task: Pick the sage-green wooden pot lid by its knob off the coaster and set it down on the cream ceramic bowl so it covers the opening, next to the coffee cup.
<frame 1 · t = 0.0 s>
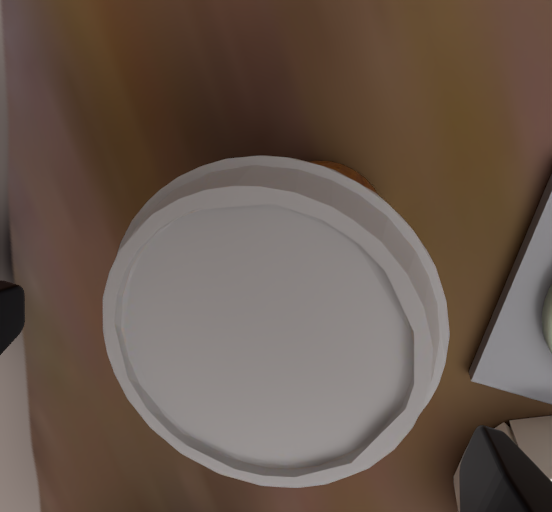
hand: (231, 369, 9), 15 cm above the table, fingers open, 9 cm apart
disposable coffee cup: (320, 224, 23), on the table
bowl: (547, 489, 25), on the table
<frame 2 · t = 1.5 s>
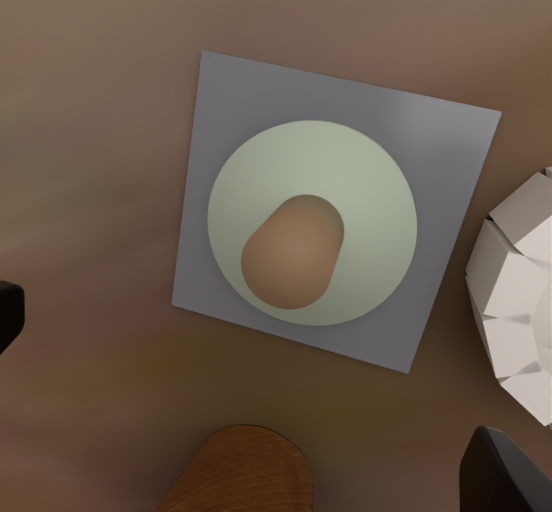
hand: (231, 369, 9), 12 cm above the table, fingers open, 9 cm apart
disposable coffee cup: (256, 470, 25), on the table
coaster: (314, 217, 20), on the table
lid: (311, 222, 19), point 1 cm above the table, touching coaster
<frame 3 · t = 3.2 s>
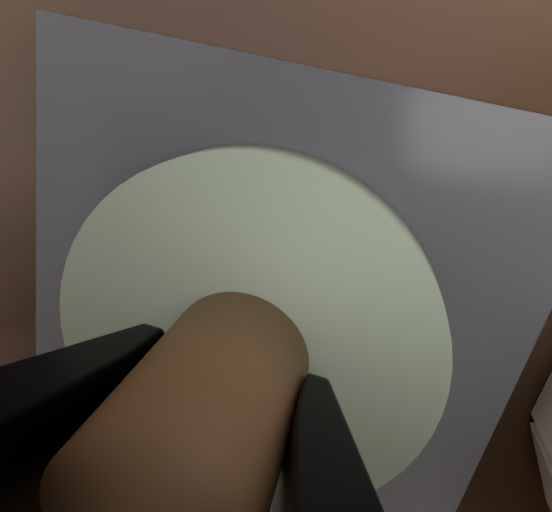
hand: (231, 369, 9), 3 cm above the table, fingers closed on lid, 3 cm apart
coaster: (263, 311, 11), on the table
lid: (255, 327, 10), point 1 cm above the table, touching coaster, gripper
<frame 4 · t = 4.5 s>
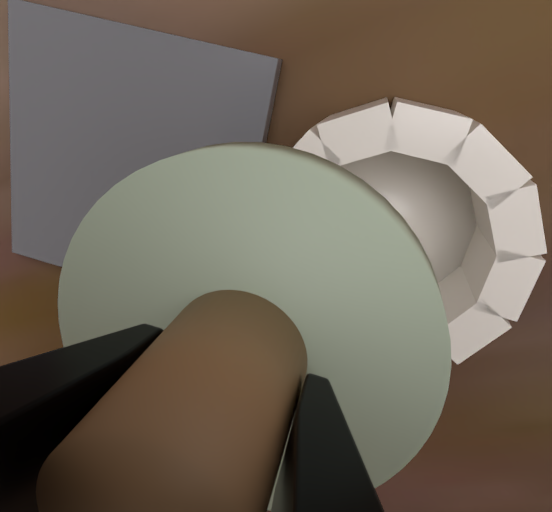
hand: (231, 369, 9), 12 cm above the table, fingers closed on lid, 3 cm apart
coaster: (135, 165, 20), on the table
bowl: (386, 219, 19), on the table
lid: (253, 326, 10), point 10 cm above the table, touching gripper
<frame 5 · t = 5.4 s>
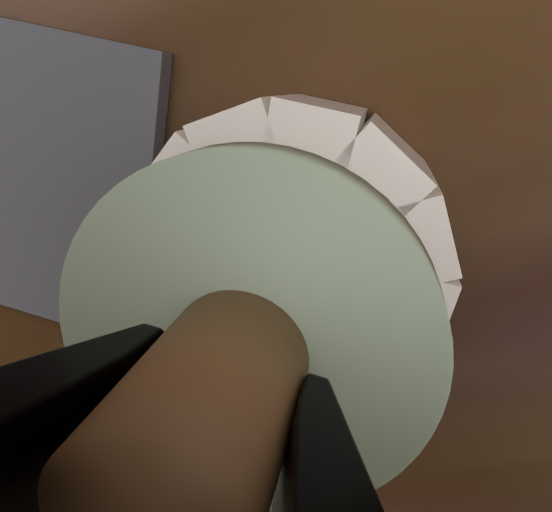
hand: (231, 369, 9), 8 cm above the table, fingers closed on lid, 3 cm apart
coaster: (26, 177, 18), on the table
bowl: (302, 235, 16), on the table
lid: (255, 326, 10), point 7 cm above the table, touching gripper
when the fingers open (7 cm above the table, at t = 5.9 s): lid drops 1 cm, resting on bowl.
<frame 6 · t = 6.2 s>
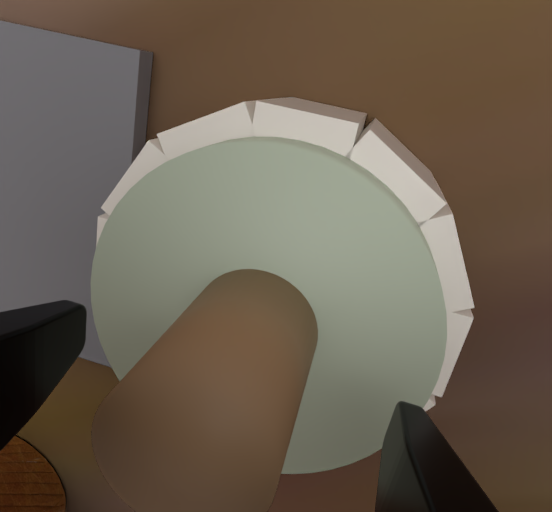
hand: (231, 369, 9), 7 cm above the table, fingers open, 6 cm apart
disposable coffee cup: (10, 477, 22), on the table
bowl: (296, 252, 15), on the table
lid: (267, 305, 11), point 4 cm above the table, touching bowl
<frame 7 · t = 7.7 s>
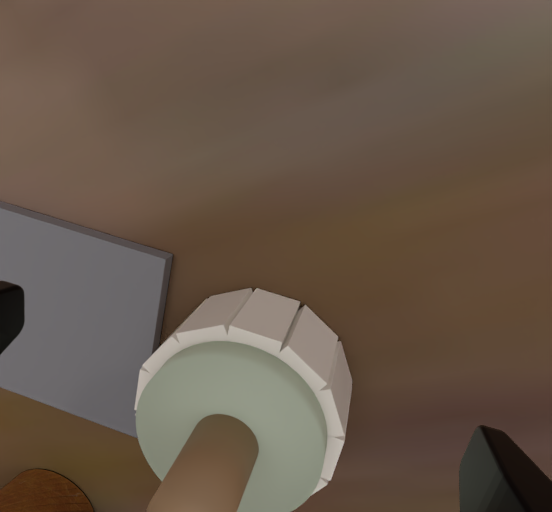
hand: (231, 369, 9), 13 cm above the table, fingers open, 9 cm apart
disposable coffee cup: (55, 504, 31), on the table
coaster: (66, 317, 26), on the table
bowl: (258, 374, 24), on the table
lid: (234, 424, 20), point 4 cm above the table, touching bowl
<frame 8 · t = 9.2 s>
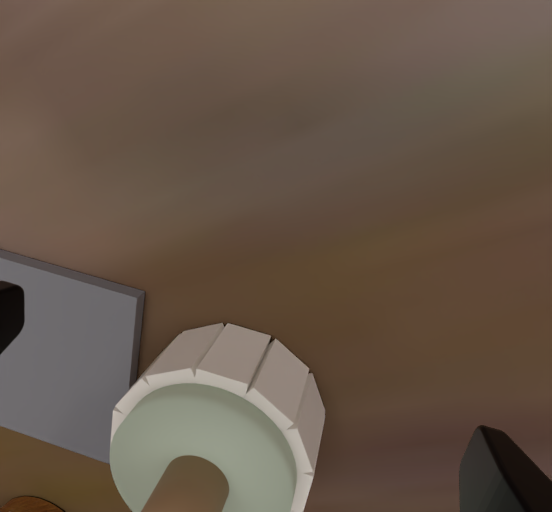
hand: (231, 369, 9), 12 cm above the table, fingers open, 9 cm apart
coaster: (45, 352, 26), on the table
bowl: (234, 404, 24), on the table
lid: (207, 461, 21), point 4 cm above the table, touching bowl
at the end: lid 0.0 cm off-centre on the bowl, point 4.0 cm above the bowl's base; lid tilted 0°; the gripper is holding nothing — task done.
